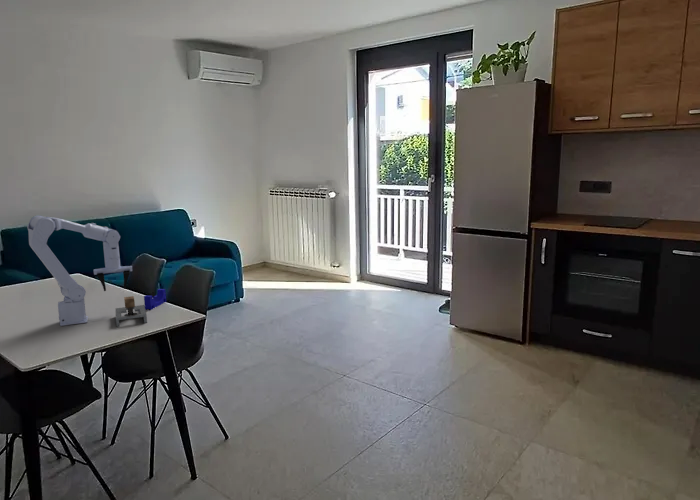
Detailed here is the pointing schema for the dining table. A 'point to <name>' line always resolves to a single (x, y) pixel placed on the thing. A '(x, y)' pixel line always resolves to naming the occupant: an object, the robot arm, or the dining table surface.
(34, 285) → the dining table surface
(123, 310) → the notched window frame
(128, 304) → the peg
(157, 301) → the blue curved bracket
